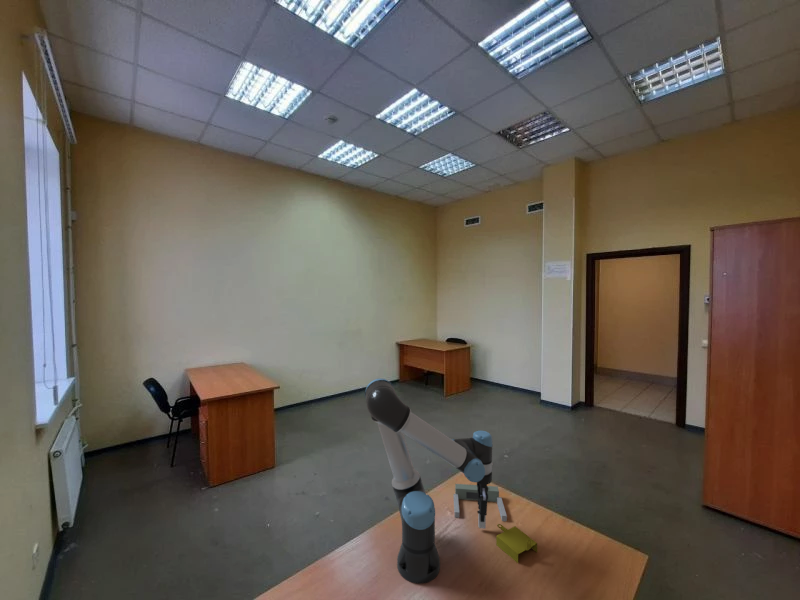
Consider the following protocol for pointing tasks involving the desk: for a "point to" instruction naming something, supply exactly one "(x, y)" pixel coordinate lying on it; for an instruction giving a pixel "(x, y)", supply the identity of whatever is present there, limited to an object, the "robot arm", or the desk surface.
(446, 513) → the desk surface
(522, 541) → the bracket
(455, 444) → the robot arm
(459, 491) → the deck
